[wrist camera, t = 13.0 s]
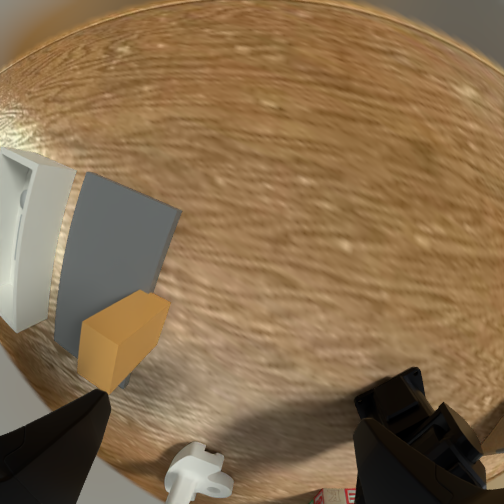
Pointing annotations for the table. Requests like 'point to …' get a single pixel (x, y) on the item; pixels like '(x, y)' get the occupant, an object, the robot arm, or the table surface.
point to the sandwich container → (495, 440)
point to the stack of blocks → (334, 496)
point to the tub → (29, 232)
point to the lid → (113, 280)
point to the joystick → (196, 475)
